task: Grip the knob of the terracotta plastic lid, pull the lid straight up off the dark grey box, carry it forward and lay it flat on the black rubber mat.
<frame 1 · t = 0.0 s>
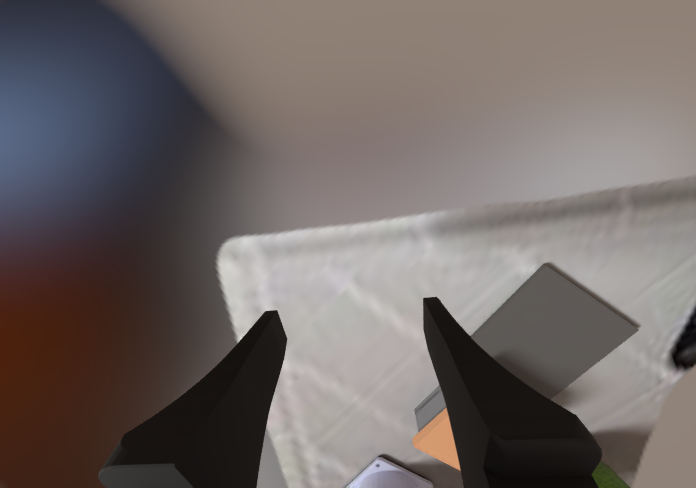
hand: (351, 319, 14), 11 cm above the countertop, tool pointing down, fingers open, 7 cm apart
avocado: (559, 456, 31), on the countertop
mat: (542, 339, 26), on the countertop
box: (469, 403, 29), on the countertop
lid: (480, 431, 26), point 3 cm above the countertop, touching box
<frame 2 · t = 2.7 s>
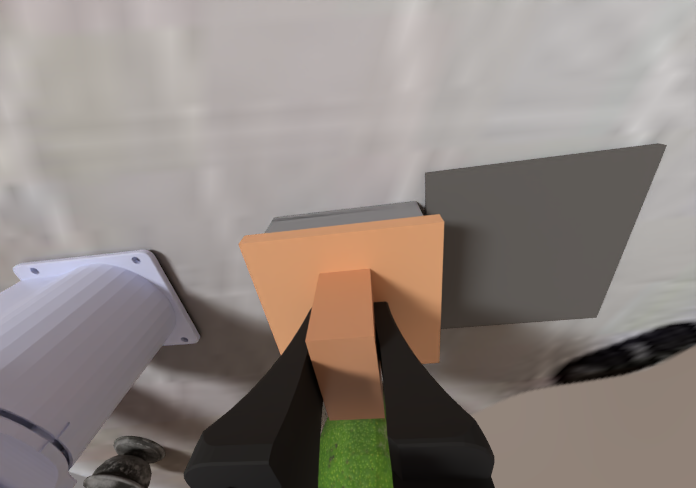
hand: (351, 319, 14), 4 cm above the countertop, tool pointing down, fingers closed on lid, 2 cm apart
candlestick holder: (141, 446, 31), on the countertop
avocado: (367, 393, 24), on the countertop
mat: (519, 252, 17), on the countertop
box: (352, 268, 18), on the countertop
lid: (351, 300, 15), point 3 cm above the countertop, touching box, gripper
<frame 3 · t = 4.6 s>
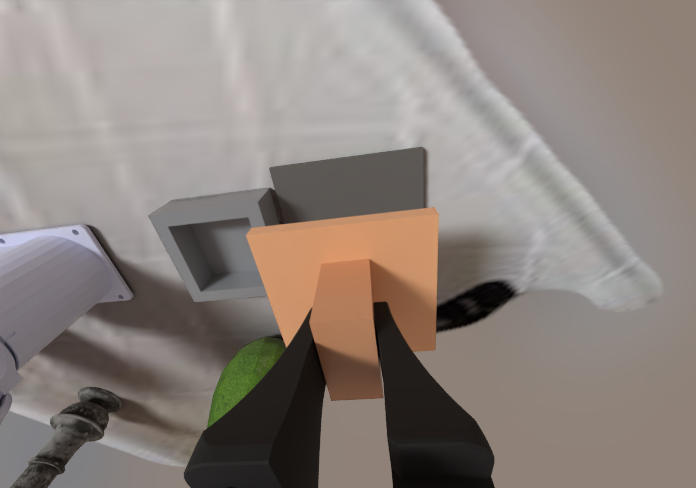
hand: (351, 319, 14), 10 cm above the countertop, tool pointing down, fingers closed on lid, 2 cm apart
candlestick holder: (102, 397, 37), on the countertop
avocado: (275, 345, 31), on the countertop
mat: (354, 225, 23), on the countertop
box: (237, 238, 24), on the countertop
lid: (352, 290, 16), point 8 cm above the countertop, touching gripper
when the fingers open (4 cm above the countertop, at t = 6.5 s): lid stays where it is, resting on mat.
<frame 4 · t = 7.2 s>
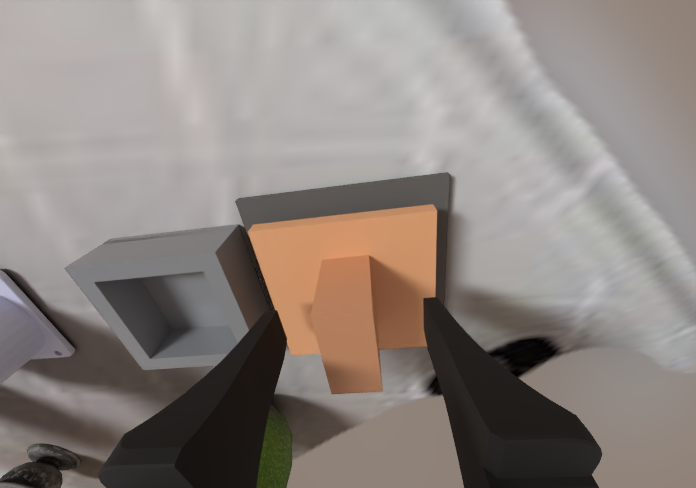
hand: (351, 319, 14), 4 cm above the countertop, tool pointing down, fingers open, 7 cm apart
candlestick holder: (56, 453, 31), on the countertop
avocado: (256, 403, 25), on the countertop
mat: (352, 271, 17), on the countertop
box: (200, 286, 18), on the countertop
lid: (352, 286, 16), point 1 cm above the countertop, touching mat
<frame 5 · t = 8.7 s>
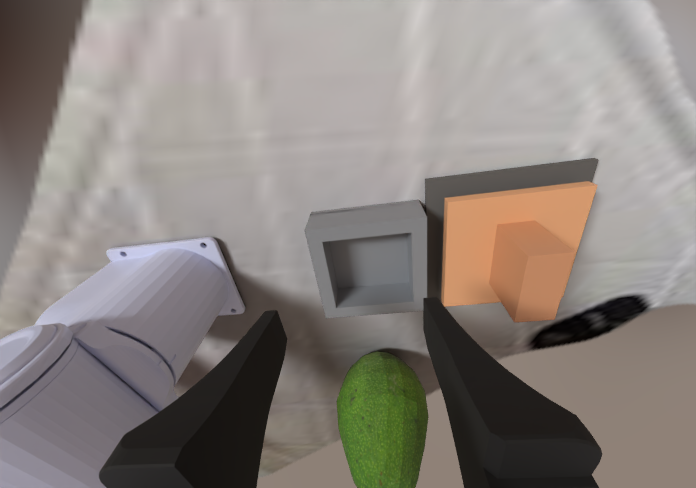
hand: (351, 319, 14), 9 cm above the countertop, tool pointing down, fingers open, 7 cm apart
avocado: (378, 359, 30), on the countertop
mat: (497, 238, 22), on the countertop
box: (369, 251, 23), on the countertop
lid: (505, 248, 21), point 1 cm above the countertop, touching mat
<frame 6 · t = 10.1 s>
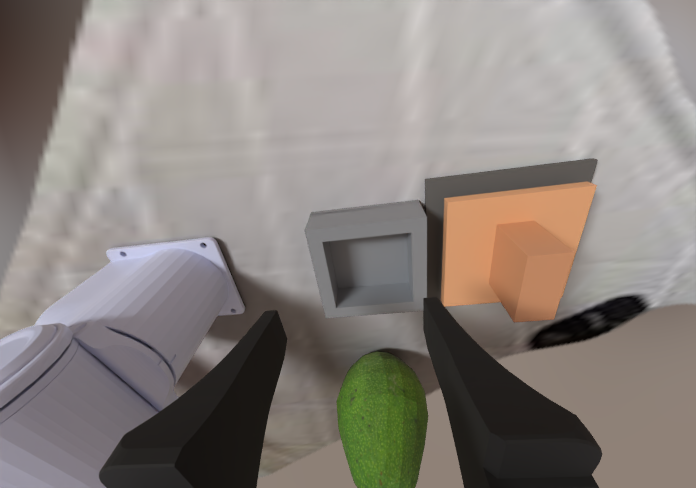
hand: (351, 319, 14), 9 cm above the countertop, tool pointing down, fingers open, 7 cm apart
avocado: (377, 359, 30), on the countertop
mat: (496, 238, 22), on the countertop
box: (369, 251, 23), on the countertop
lid: (504, 248, 21), point 1 cm above the countertop, touching mat
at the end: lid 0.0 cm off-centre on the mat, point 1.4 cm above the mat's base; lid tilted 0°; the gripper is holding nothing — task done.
